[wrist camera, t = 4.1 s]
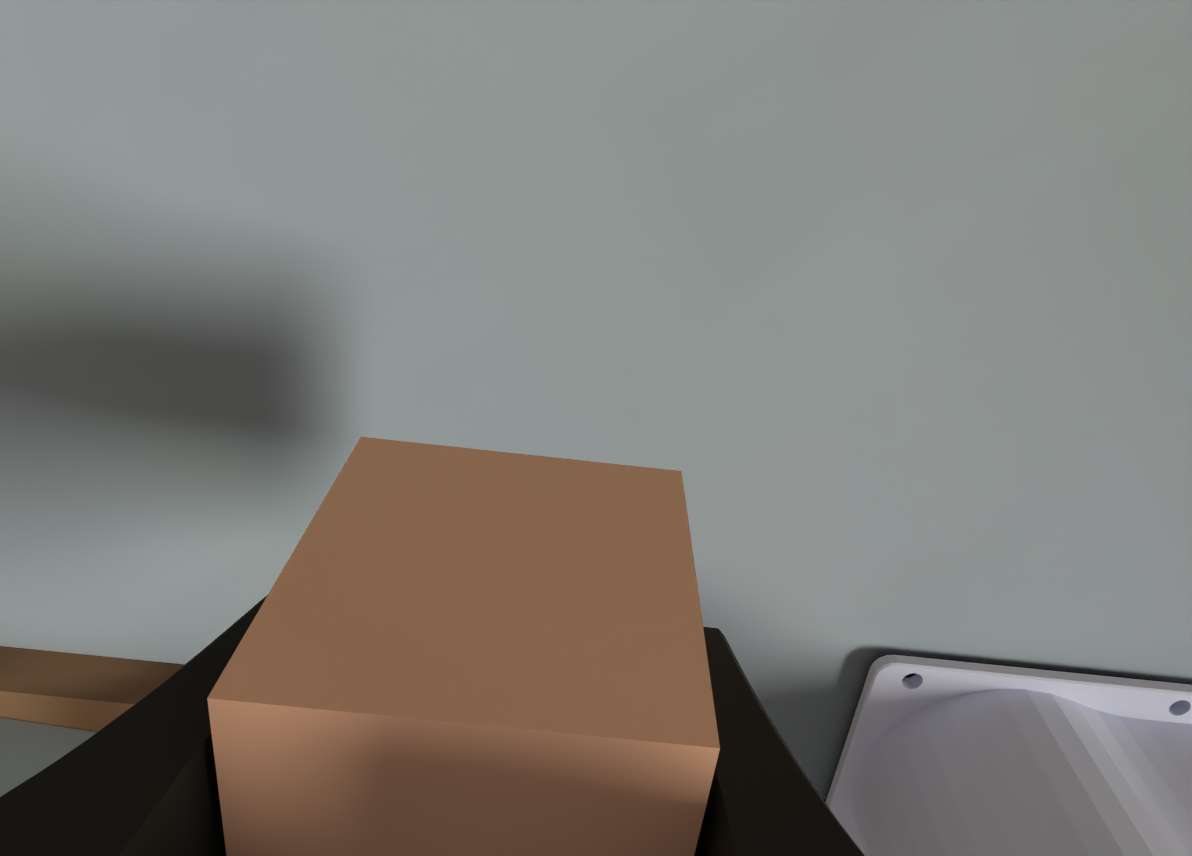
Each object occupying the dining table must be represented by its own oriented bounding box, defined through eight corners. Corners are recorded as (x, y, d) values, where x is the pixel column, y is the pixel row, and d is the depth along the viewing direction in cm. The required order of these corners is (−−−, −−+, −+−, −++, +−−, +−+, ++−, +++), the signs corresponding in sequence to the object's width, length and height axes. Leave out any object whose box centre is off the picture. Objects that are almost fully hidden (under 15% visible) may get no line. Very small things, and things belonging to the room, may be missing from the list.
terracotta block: (681, 471, 12) (719, 748, 8) (639, 708, 14) (650, 1039, 10) (360, 436, 12) (206, 698, 7) (363, 681, 14) (244, 1004, 9)
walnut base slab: (337, 662, 24) (312, 722, 22) (344, 895, 28) (323, 962, 26) (-31, 624, 23) (-91, 682, 21) (35, 866, 28) (-9, 932, 26)
